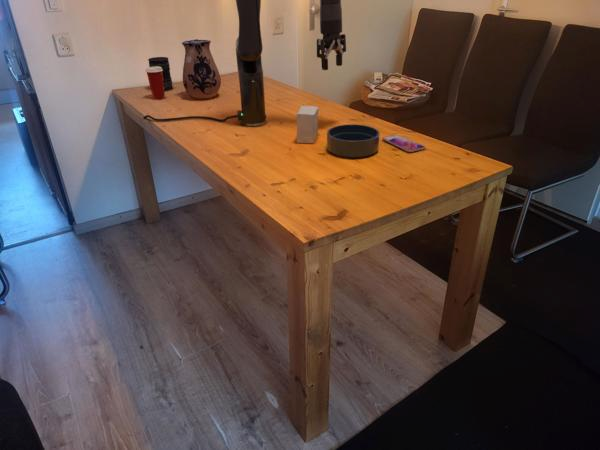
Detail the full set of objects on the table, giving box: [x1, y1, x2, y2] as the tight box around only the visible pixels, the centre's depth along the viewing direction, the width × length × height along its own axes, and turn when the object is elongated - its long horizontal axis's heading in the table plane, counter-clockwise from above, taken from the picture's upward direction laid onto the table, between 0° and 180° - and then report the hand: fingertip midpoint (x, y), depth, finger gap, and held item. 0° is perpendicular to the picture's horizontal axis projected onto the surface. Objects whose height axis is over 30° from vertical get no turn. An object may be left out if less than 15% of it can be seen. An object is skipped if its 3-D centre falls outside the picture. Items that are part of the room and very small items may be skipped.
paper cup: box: [145, 66, 166, 101], centre depth 213 cm, size 8×8×14 cm
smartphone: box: [381, 134, 426, 153], centre depth 155 cm, size 7×1×15 cm
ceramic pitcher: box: [181, 38, 222, 100], centre depth 212 cm, size 18×21×25 cm
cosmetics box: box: [296, 105, 319, 144], centre depth 160 cm, size 10×6×10 cm, turn 170°
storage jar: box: [147, 56, 174, 92], centre depth 228 cm, size 10×10×15 cm
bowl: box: [326, 123, 381, 159], centre depth 151 cm, size 17×17×6 cm
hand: (332, 67), depth 162 cm, fingers open, 8 cm apart
